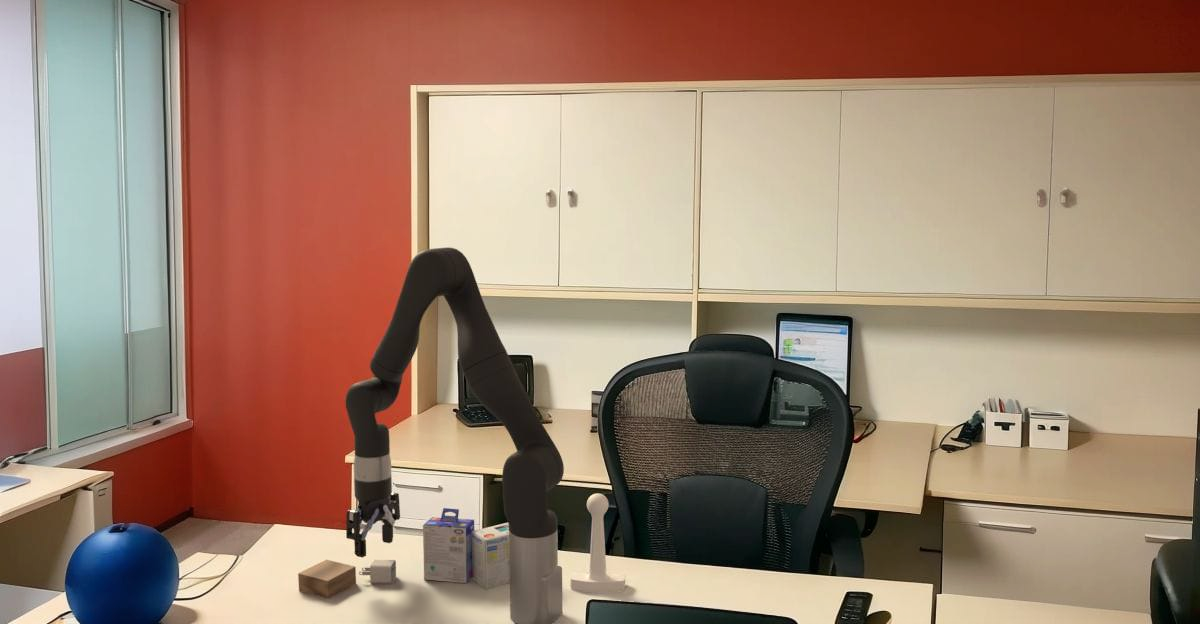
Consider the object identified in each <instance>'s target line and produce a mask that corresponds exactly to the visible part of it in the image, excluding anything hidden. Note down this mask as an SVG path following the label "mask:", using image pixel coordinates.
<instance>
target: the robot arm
mask: <svg viewBox="0 0 1200 624" xmlns="http://www.w3.org/2000/svg"><path fill="white" fill-rule="evenodd" d="M442 296H443V297H444V300H446V302H447V304H448V307H449V309H450V311H451V313H452V315H453V317H454V321H455V323H456V332H457V355H458V356H457V358H458V363H459V367H460V368H461V369H460V370H461V371H462V373H463V375H464V377H465V380H466V382H467V385H468V387H469V388H470V391H471V393H472V395H473V396H474V397H475V398H476V399H477V401H478V402H479V403H480V404H481V405H482V406H483V407H484V408H485V409H486V410H488V412H490V413H491V414H492V415H493V416H494V417H495V418H496V419H497V420H498V421H499V422H500V423H501V424H502V425H503V426H504V428H505V429H506V432H508V434H509V436H510V438H511V440H512V443H513V444H514V446H515V449H516V451H515V452H513V453H512V454H510V455H509V456H508V457H507V458H506V460H505V462H504V465H503V468H502V476H501V477H502V479H501V483H502V495H503V496H502V497H503V498H502V500H503V510H504V511H503V512H504V516H505V518H506V521H507V522H508V523H509V571H510V583H509V611H510V612H509V613H510V614H509V615H510V617H509V618H510V619H511V620H512V621H513V622H514V623H515V624H552V623H553V622H554V621H556V620H557V619H558V618H559V617H560V616H561V615H562V614H563V567H562V566H560V565H559V563H558V561H559V558H558V554H559V553H558V547H559V545H558V542H559V541H558V516H557V514H556V513H555V512H554V511H553V510H551V509H548V502H547V501H548V500H547V499H548V498H547V492H548V491H550V490H552V489H553V488H555V487H556V486H558V485H559V484H560V482H561V481H562V479H563V477H564V471H565V466H564V462H563V458H562V455H561V453H560V451H559V450H558V447H557V446H556V444H555V442H554V440H553V439H552V438H551V436H550V434H549V432H548V431H547V429H546V428H545V426H544V425H543V423H542V421H541V419H540V418H539V415H538V414H537V412H536V411H535V408H534V406H533V405H532V403H531V400H530V398H529V396H528V394H527V392H526V390H525V388H524V386H523V384H522V381H521V380H520V378H519V376H518V373H517V370H516V369H515V367H514V364H513V362H512V360H511V358H510V356H509V354H508V352H507V349H506V348H505V346H504V344H503V342H502V340H501V338H500V336H499V334H498V332H497V329H496V328H495V325H494V323H493V321H492V317H491V316H490V314H489V312H488V310H487V307H486V305H485V302H484V300H483V297H482V295H481V292H480V289H479V285H478V283H477V279H476V277H475V274H474V272H473V269H472V266H471V263H470V261H469V260H468V258H467V257H466V256H465V255H464V253H463V252H461V250H458V248H457V249H456V248H454V247H437V248H436V247H435V248H429V249H424V250H421V251H419V252H417V254H416V255H415V256H414V257H413V258H412V260H411V262H410V264H409V267H408V269H407V271H406V275H405V278H404V280H403V283H402V288H401V290H400V293H399V297H398V299H397V302H396V305H395V308H394V312H393V313H392V317H391V320H390V322H389V324H388V327H387V329H386V331H385V333H384V335H383V336H382V339H381V340H380V343H379V344H378V346H377V347H376V349H375V351H374V354H373V355H372V358H371V359H370V362H369V369H370V371H371V373H372V375H373V376H372V377H371V378H369V379H366V380H362V381H358V382H356V383H354V384H352V385H350V386H349V388H348V389H347V392H346V395H345V409H346V412H347V416H348V419H349V422H350V426H351V430H352V431H353V436H354V458H353V459H354V461H353V482H354V485H353V486H354V487H353V488H354V489H353V490H354V497H355V499H356V500H357V503H358V505H357V508H356V509H353V510H352V509H348V510H347V511H346V531H345V534H346V535H345V537H346V539H348V540H353V541H354V543H353V544H354V555H355V556H356V557H358V558H364V557H366V556H367V540H366V537H367V536H368V532H369V531H370V530H371V529H372V528H373V525H375V524H377V522H381V523H382V525H381V532H382V533H381V534H382V535H381V537H382V542H383V543H385V544H391V543H393V541H394V525H395V523H396V521H397V520H400V519H401V509H400V508H401V507H400V493H398V492H394V491H393V490H392V489H393V488H392V487H393V486H392V482H393V481H392V478H393V477H392V459H391V454H390V453H391V451H390V450H391V449H390V445H391V444H390V430H389V428H388V426H387V425H386V424H384V423H380V422H377V418H376V414H377V413H379V412H380V413H381V412H384V411H386V410H388V409H389V408H390V407H391V406H392V405H394V403H395V402H396V400H397V398H398V397H399V394H400V389H401V385H402V381H403V377H404V376H403V375H404V373H405V372H406V370H407V368H408V367H409V365H410V363H411V361H412V359H413V357H414V355H415V354H416V350H417V348H418V345H419V340H420V330H421V322H422V319H423V317H424V315H425V313H426V312H427V310H428V308H429V307H430V305H431V304H432V303H433V302H434V301H435V299H436V298H437V297H438V298H439V297H442ZM361 530H362V531H361Z"/></svg>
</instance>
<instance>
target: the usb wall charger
mask: <svg viewBox="0 0 1200 624" xmlns="http://www.w3.org/2000/svg"><path fill="white" fill-rule="evenodd" d="M358 574H359V575H360V576H370V578H369V579H370V584H385V585H386V584H388V585H389V584H390V585H391V584H393V583H394V581H395V579H396V578H397V561H396V559H373V561H372V563H371V564H370V566H369V567H366V566H365V567H362V568H361V571H359V572H358Z"/></svg>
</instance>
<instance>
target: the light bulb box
mask: <svg viewBox="0 0 1200 624" xmlns="http://www.w3.org/2000/svg"><path fill="white" fill-rule="evenodd" d="M471 541H472V571H473V577H472V580H474V581H475V582H476V583H477V584H479V585H480V586H481V587H482V588H484V589H485V590H487V589H491V588H495V587H498V586H502V585H506V584H510V571H509V523H508V521H507V522H504V523H500V524H497V525H493V526H488V527H484V528H480V529H474V531H471Z"/></svg>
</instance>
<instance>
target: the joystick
mask: <svg viewBox="0 0 1200 624" xmlns="http://www.w3.org/2000/svg"><path fill="white" fill-rule="evenodd" d="M609 503H610V502H609V500H608V498H607V497H606V496H605V495H604V494H602V493H600V492H599V493H593V494H592V495H590V496H589V497H588V499H587V501H586V508H587V510H588V512H589V513H590V515H591V530H590V531H591V534H590V550H589V551H590V552H589V553H590V554H589V570H588V571H589V572H588V573H582V572H578V571H577V572H576V571H573V572H572V573H571V574H570V590H572V591H578V592H586V593H596V594H597V593H598V592H605V593H608V594H609V593H620V592H619V591H621V592H624V591H625V590H626V574H625V573H615V574H612V573H611V574H610V572H609V569H608V568H607V564H606V563H607V560H606V559H607V558H606V546H605V545H606V544H605V543H606V542H605V526H604V516H605V514H606V513H607V511H608V509H609Z"/></svg>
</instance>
